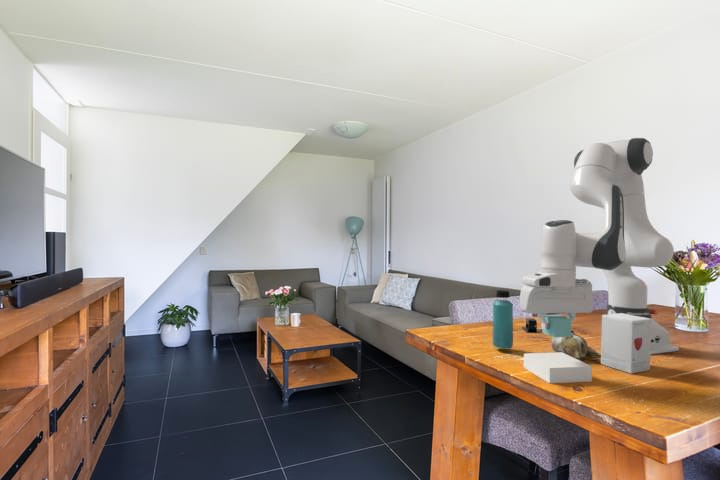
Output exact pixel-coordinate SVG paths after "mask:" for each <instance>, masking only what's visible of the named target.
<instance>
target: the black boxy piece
mask: <svg viewBox="0 0 720 480" xmlns="http://www.w3.org/2000/svg"><path fill="white" fill-rule="evenodd" d="M537 321H538V320H536V319H535V318H533V317H532V318H531V317H526V318H525V326H522V328H521V330H523V331H524V332H525V333H526V334H528V333H529V334H543V333H542V331H540V330H539V329H538V323H537Z"/></svg>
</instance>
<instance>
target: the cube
mask: <svg viewBox="0 0 720 480" xmlns="http://www.w3.org/2000/svg"><path fill="white" fill-rule="evenodd" d="M545 319H546V321H547V322H548V323H550V329H546V330H544V329H542V331H541V332H542V333H541V334H545V335H548V336H549V337H551V338H552V337H571V331H572V328H571V318H568V316H566V315H565V316H564V315H562V314H547V317H545Z"/></svg>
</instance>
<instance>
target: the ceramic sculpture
mask: <svg viewBox="0 0 720 480" xmlns="http://www.w3.org/2000/svg"><path fill="white" fill-rule="evenodd" d="M550 342H551V345H550V346H551V348H552V349H551V350H553V351H554V353H556V352H562V353H565V354H567V355H569V356H571V357H573V358H575V359H577V360H579V361H581V359H583V358H584V357H586V358H590V359H601V353H599V352H597V351H596V350H595V349H594V348H592V347H591V346H588V343H587V341H586V339H585V338H584V337H582V336H580V335H578V334H576V333H575V331H574V330H571V337H552V336H551V341H550Z"/></svg>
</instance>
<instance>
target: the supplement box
mask: <svg viewBox="0 0 720 480" xmlns="http://www.w3.org/2000/svg"><path fill="white" fill-rule="evenodd" d="M600 339H601V341H600V342H601V344H600V355H601V358H600V364H601V365H603V366H606V367H608V368H609V367H610V368H613V369H615V370H618V371H622V372H625V373H628V374H630V375H633V374H636V373H641V372H645V371H650V370H651V354H650V344H651V319H650V318H645V317H639V316H634V315H629V314H624V313H617V314H607V313H606V314H602V315H601V337H600Z"/></svg>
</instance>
